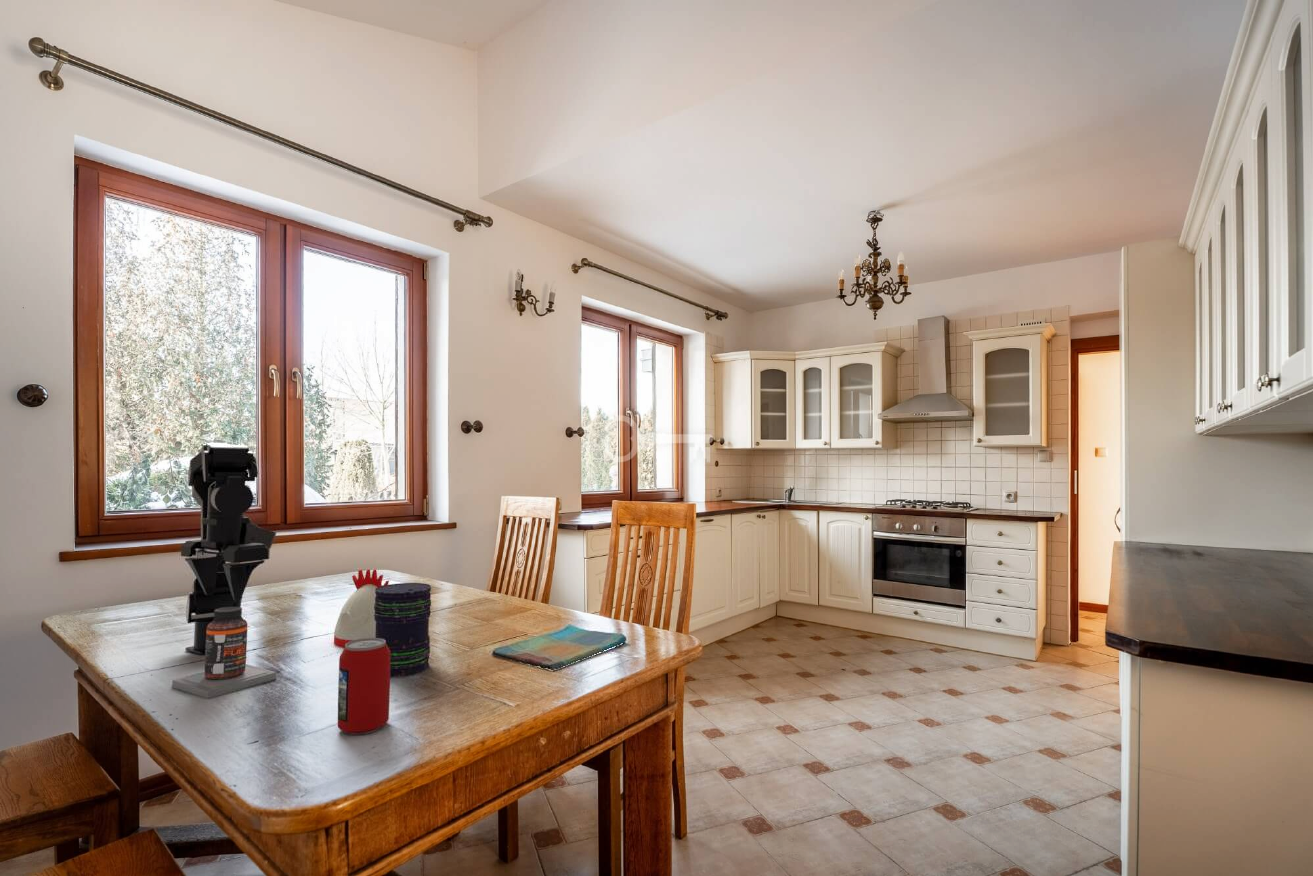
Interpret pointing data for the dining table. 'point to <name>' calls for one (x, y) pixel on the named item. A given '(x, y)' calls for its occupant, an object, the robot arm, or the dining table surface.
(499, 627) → the dining table surface
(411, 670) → the dark blue cylinder
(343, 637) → the kitchen timer
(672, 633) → the dining table surface
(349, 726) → the beverage can
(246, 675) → the plate
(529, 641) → the dish towel
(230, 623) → the supplement bottle
